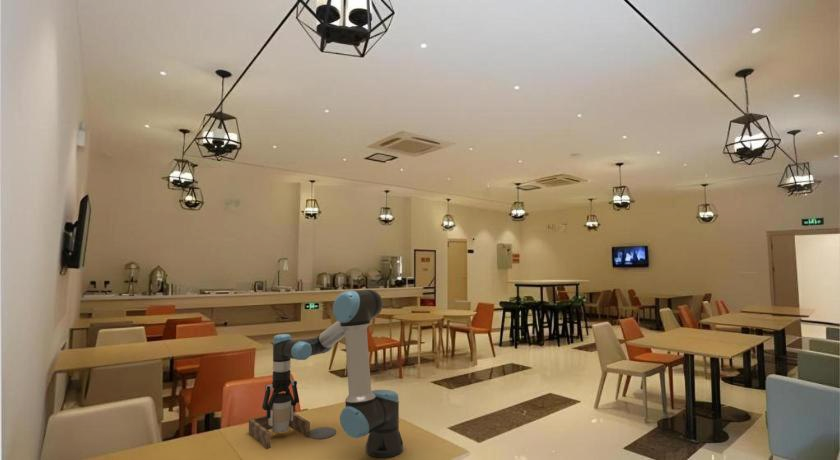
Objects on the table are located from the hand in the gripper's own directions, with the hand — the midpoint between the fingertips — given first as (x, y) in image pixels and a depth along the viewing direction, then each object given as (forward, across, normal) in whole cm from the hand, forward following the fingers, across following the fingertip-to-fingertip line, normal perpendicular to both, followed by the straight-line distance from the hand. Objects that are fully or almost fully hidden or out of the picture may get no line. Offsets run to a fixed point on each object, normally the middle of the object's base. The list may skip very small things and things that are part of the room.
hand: (280, 422), depth 188 cm
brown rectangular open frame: (+6, 0, -2) cm, 6 cm away
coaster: (+6, -15, +10) cm, 19 cm away
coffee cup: (+3, 0, 0) cm, 3 cm away
